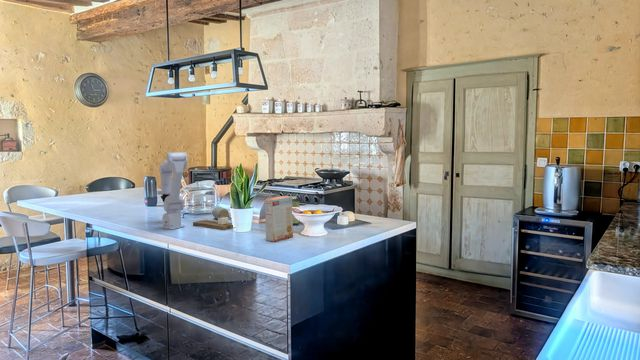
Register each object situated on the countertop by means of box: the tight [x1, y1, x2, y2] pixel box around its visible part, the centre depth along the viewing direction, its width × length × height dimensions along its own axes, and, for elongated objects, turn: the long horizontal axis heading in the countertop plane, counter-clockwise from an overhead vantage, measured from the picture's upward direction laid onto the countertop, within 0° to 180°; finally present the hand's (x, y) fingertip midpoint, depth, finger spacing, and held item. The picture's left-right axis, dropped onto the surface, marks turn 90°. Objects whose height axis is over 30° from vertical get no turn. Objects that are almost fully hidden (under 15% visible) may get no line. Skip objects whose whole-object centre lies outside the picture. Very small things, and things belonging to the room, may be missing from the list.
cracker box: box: [264, 195, 294, 243], centre depth 226 cm, size 14×6×21 cm, turn 141°
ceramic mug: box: [212, 205, 232, 220], centre depth 280 cm, size 11×8×8 cm
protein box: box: [272, 196, 300, 227], centre depth 264 cm, size 10×16×16 cm
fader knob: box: [217, 217, 229, 225], centre depth 254 cm, size 5×3×3 cm, turn 147°
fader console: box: [192, 218, 234, 231], centre depth 258 cm, size 10×24×2 cm, turn 57°
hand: (167, 207), depth 267 cm, fingers closed
